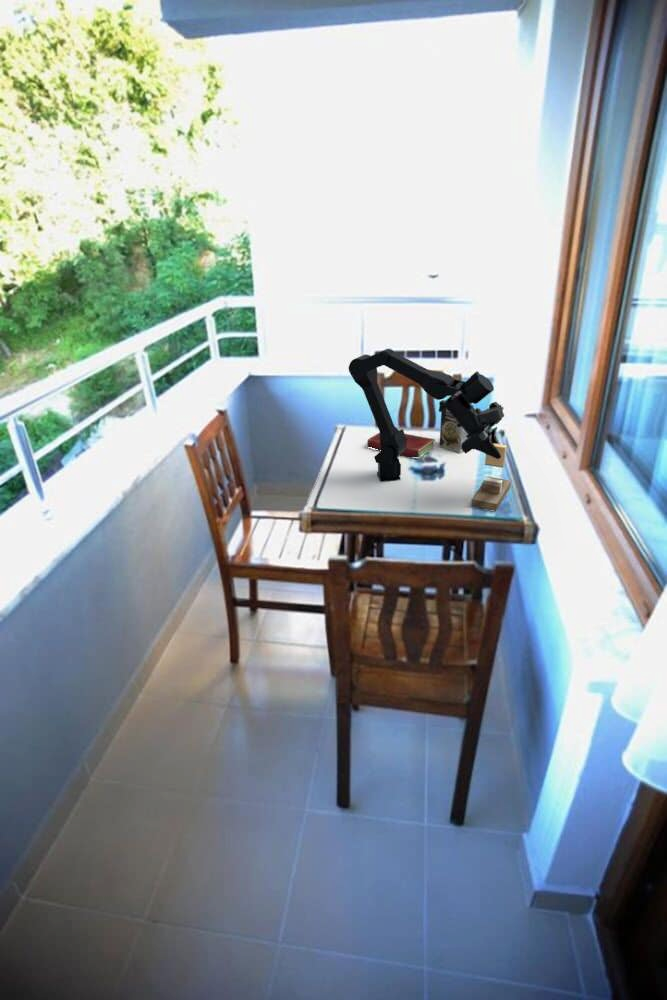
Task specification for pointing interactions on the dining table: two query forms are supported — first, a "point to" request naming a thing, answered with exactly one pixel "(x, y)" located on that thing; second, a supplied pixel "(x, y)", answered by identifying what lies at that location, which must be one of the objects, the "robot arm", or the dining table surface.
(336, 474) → the dining table surface
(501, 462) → the stub
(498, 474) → the dining table surface
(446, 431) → the coffee box
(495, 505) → the stand
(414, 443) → the hardcover book
